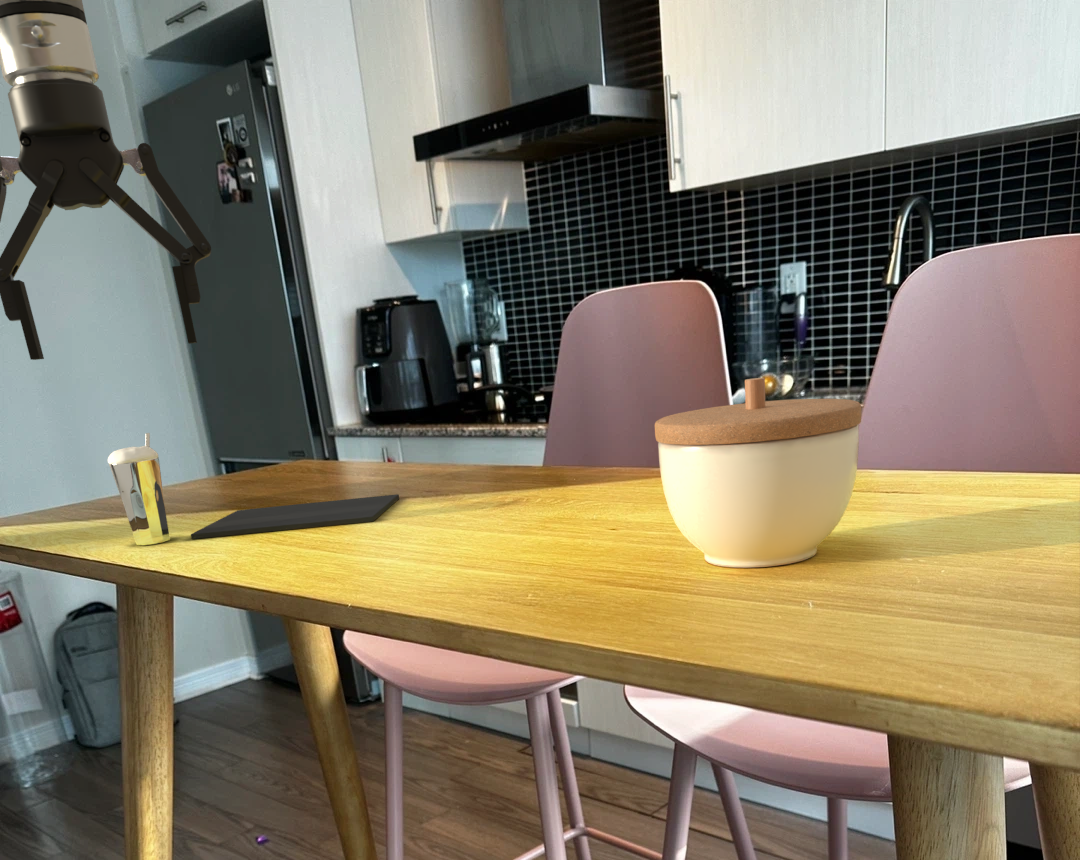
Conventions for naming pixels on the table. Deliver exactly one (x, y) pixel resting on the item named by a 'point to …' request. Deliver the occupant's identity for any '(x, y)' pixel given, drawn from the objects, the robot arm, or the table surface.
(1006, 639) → the table surface
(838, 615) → the table surface
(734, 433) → the lidded bowl
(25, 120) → the robot arm
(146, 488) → the milkshake
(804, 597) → the table surface
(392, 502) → the mat
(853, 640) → the table surface
